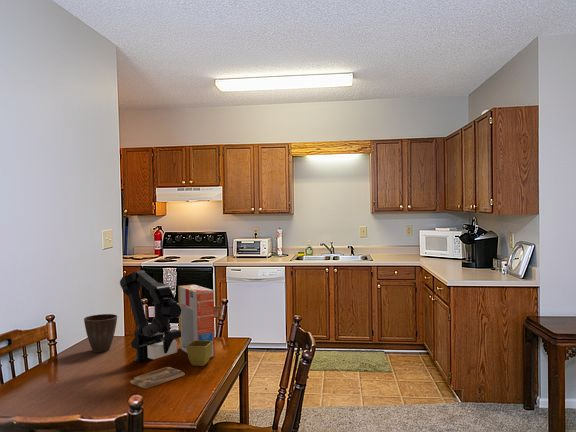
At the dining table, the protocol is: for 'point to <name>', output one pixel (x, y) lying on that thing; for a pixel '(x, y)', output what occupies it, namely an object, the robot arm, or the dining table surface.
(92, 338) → the plant pot
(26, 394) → the dining table surface
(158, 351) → the door
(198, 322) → the pasta box
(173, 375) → the beige rectangular tray
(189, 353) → the flower pot
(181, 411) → the dining table surface
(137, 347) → the robot arm
